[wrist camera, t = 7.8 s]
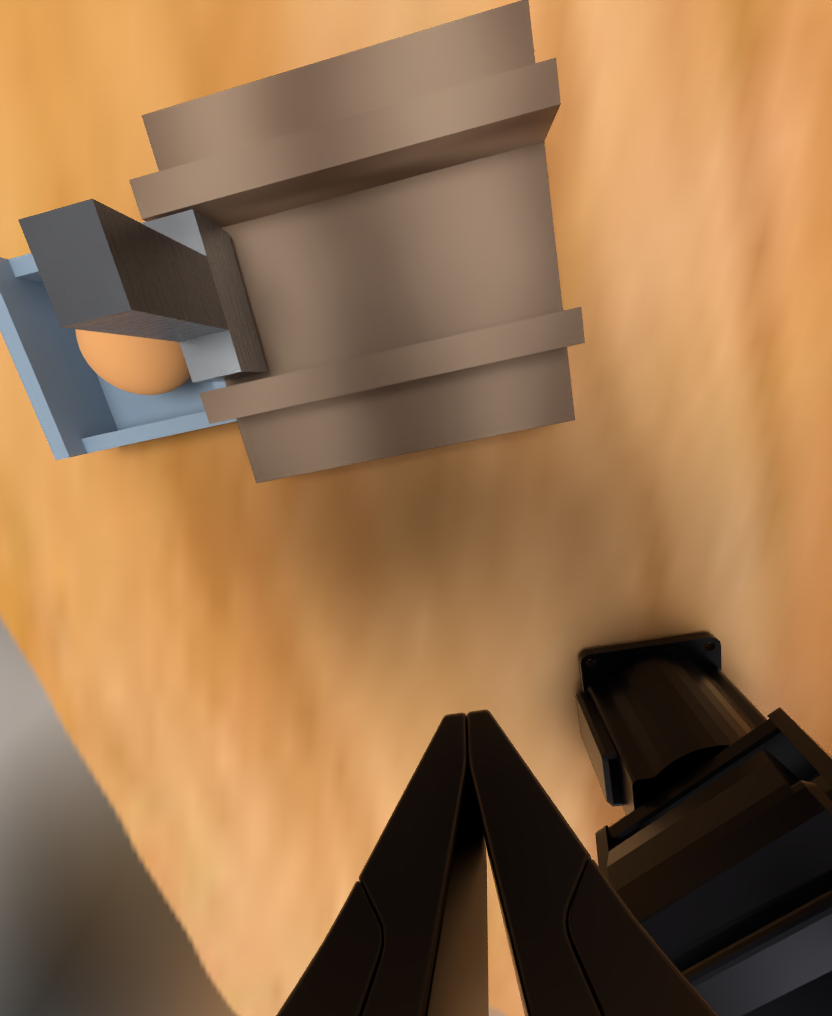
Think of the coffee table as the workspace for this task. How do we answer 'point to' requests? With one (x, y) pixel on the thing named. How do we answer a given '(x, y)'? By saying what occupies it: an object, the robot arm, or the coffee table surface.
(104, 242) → the gray stepped block
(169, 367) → the ball
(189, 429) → the light blue square tray
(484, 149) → the brown stepped block
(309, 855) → the coffee table surface
